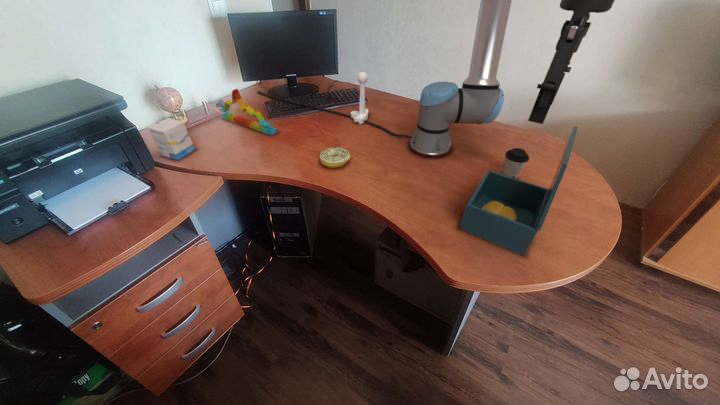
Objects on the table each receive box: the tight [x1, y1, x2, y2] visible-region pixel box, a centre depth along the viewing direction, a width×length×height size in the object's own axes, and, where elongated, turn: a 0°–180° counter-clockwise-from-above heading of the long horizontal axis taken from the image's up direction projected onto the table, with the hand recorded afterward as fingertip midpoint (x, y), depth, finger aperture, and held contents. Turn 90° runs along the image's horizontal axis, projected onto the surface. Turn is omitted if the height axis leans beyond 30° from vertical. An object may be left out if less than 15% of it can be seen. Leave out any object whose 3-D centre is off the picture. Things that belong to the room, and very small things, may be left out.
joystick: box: [350, 71, 369, 125], centre depth 126 cm, size 11×8×20 cm
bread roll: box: [482, 201, 517, 221], centre depth 81 cm, size 8×9×4 cm
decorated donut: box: [319, 146, 351, 169], centre depth 105 cm, size 10×11×4 cm
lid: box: [536, 125, 579, 231], centre depth 68 cm, size 18×19×1 cm
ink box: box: [147, 117, 196, 161], centre depth 107 cm, size 9×8×12 cm
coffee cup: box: [501, 147, 530, 179], centre depth 94 cm, size 7×7×10 cm
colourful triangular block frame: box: [219, 88, 277, 136], centre depth 123 cm, size 30×3×15 cm, turn 58°
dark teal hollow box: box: [458, 169, 549, 256], centre depth 80 cm, size 17×19×9 cm
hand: (540, 111), depth 62 cm, fingers open, 10 cm apart
